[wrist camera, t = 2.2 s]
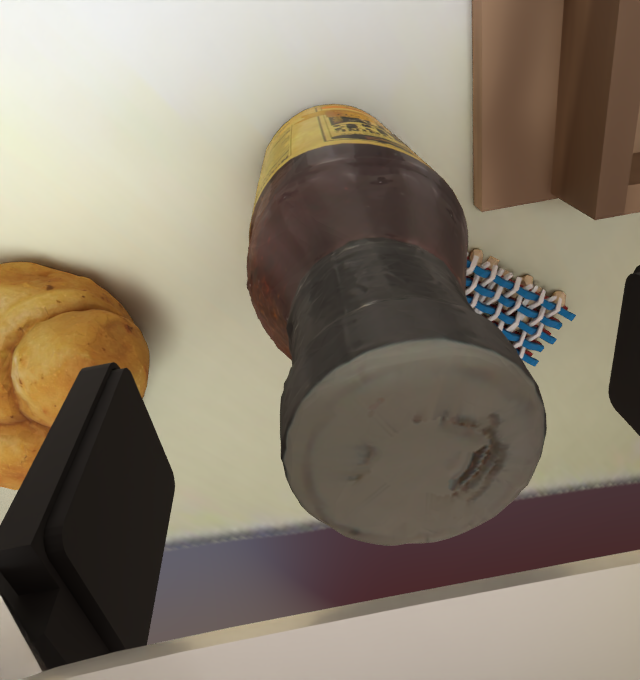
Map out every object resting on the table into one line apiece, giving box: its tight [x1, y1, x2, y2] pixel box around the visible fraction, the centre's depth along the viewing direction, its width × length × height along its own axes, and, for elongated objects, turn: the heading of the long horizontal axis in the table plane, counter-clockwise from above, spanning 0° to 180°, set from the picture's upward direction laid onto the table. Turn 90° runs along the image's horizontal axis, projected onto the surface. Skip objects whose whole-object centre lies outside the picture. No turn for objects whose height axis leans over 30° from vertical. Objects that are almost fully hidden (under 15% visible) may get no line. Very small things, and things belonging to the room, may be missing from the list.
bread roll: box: [0, 262, 149, 490], centre depth 26 cm, size 13×10×8 cm
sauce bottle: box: [247, 104, 547, 546], centre depth 17 cm, size 7×6×20 cm
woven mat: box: [465, 249, 576, 366], centre depth 30 cm, size 10×11×2 cm
